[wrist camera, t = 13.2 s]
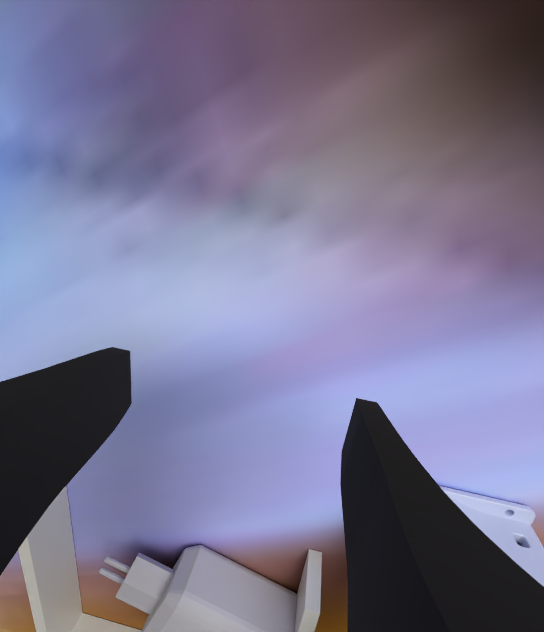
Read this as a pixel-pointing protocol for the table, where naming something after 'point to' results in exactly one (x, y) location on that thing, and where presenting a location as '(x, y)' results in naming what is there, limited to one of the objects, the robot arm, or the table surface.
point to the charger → (203, 594)
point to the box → (63, 586)
